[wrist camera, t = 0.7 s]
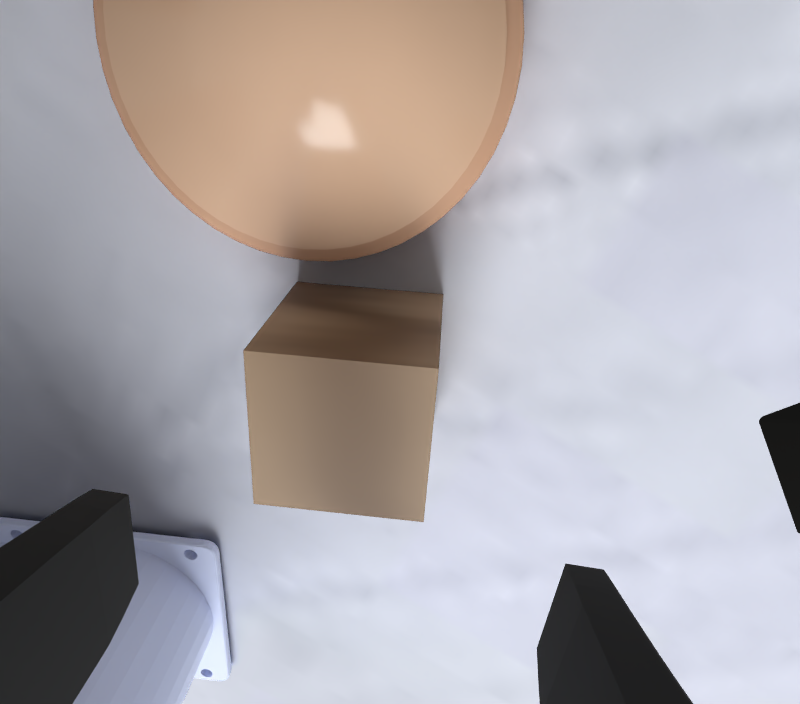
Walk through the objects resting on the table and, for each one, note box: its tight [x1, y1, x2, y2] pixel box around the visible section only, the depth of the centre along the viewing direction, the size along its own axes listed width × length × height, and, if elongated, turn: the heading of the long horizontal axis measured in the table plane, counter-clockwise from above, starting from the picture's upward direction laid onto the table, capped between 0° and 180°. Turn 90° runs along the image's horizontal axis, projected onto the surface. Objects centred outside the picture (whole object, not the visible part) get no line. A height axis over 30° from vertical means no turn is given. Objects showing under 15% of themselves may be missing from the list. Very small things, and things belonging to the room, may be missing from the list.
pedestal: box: [93, 0, 524, 261], centre depth 14 cm, size 10×10×2 cm
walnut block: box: [243, 282, 443, 522], centre depth 16 cm, size 4×4×5 cm
